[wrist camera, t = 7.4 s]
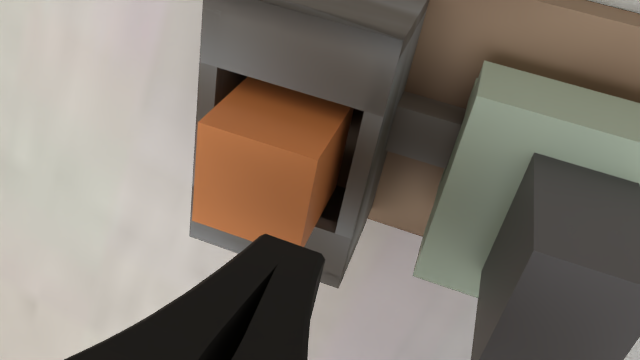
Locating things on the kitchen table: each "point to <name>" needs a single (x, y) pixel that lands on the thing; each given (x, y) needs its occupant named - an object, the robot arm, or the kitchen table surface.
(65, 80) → the kitchen table surface
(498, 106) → the carriage
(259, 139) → the button
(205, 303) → the robot arm
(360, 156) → the rail base
